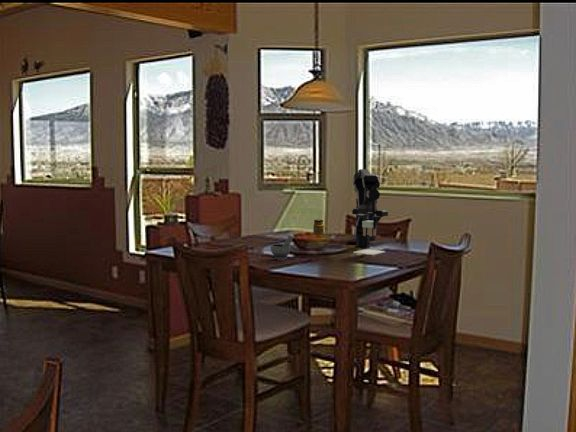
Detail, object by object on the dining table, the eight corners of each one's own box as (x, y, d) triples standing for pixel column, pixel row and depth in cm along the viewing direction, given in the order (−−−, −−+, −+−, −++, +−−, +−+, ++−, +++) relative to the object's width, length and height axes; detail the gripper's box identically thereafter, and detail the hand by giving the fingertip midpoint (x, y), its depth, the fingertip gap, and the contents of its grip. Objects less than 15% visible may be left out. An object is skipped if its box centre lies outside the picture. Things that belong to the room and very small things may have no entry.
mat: (353, 252, 360) (353, 251, 360) (366, 250, 369) (366, 249, 369) (372, 255, 352) (372, 254, 352) (385, 252, 361) (385, 251, 361)
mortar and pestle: (270, 261, 336) (270, 236, 335) (270, 257, 346) (270, 233, 344) (294, 260, 337) (294, 236, 335) (293, 257, 346) (293, 233, 345)
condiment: (326, 240, 404) (326, 220, 403) (314, 241, 400) (314, 221, 398) (319, 239, 410) (319, 218, 409) (307, 240, 406) (307, 219, 404)
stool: (362, 235, 359) (362, 221, 358) (368, 234, 363) (368, 220, 363) (371, 236, 356) (371, 222, 355) (376, 235, 360) (377, 221, 359)
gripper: (346, 198, 357) (345, 228, 359) (376, 200, 345) (376, 232, 347) (358, 197, 366) (358, 226, 368) (388, 199, 354) (388, 229, 356)
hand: (369, 228), depth 359 cm, fingers closed on stool, 5 cm apart
